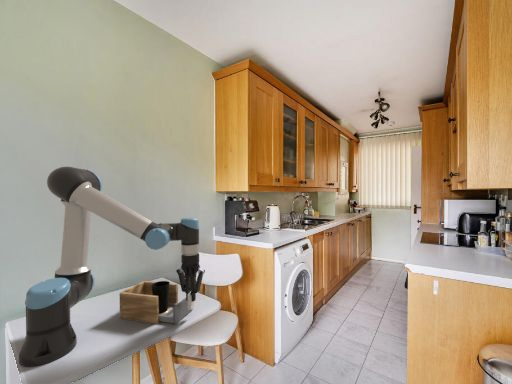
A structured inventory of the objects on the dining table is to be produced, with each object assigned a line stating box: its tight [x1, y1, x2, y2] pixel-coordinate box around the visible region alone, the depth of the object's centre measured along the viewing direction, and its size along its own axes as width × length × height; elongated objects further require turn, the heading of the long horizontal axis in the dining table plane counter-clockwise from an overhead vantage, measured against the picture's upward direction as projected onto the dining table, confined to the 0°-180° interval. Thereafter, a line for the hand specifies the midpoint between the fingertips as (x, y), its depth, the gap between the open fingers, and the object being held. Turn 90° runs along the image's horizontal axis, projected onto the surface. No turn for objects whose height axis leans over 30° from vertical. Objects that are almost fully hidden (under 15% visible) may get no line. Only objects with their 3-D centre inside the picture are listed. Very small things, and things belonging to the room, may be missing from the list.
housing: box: [119, 280, 179, 324], centre depth 110 cm, size 15×19×11 cm
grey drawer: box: [159, 297, 194, 325], centre depth 108 cm, size 14×18×7 cm
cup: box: [151, 280, 171, 314], centre depth 109 cm, size 8×8×12 cm
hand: (191, 308), depth 105 cm, fingers closed
